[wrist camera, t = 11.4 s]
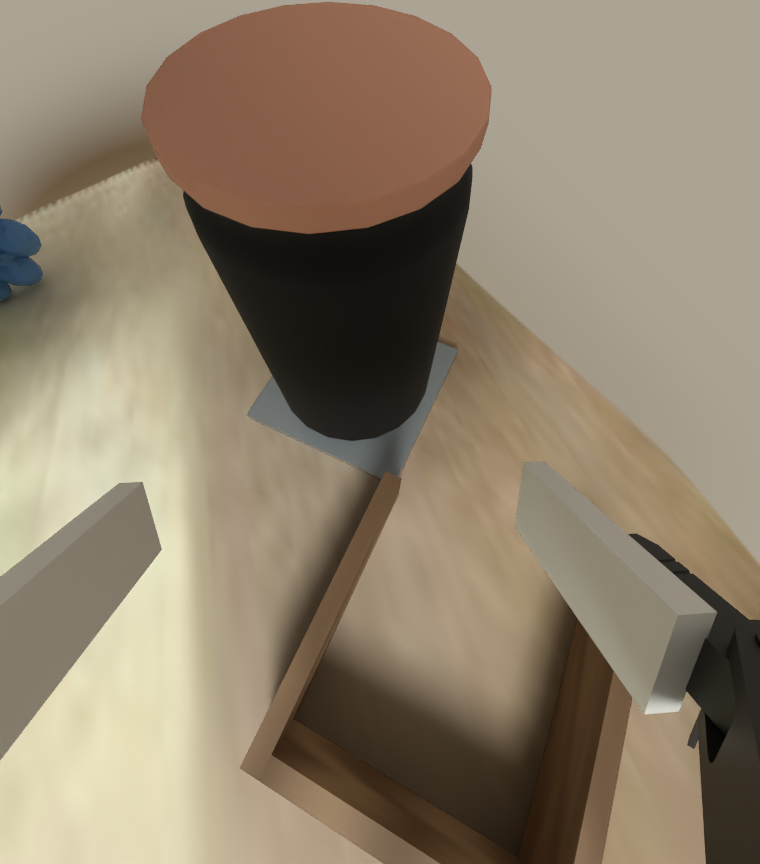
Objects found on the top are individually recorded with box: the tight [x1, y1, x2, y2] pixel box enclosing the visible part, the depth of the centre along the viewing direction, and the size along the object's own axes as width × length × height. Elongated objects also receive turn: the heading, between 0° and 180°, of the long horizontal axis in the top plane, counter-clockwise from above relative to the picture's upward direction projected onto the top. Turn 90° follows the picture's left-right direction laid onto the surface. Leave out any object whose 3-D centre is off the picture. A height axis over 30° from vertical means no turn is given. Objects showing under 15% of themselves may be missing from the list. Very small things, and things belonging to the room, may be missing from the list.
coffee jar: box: [141, 2, 491, 441], centre depth 19 cm, size 11×11×18 cm
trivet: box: [247, 342, 458, 479], centre depth 28 cm, size 12×12×1 cm
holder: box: [240, 471, 632, 864], centre depth 19 cm, size 15×15×4 cm
